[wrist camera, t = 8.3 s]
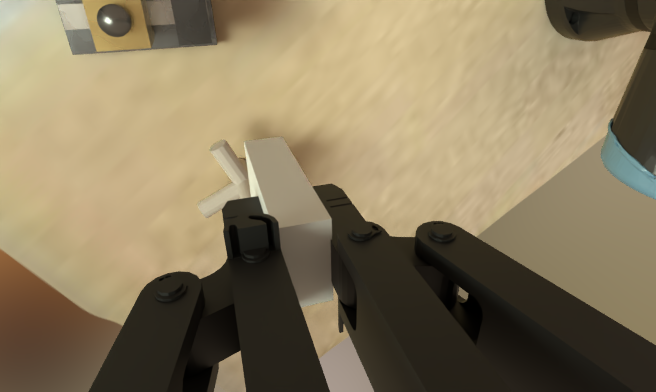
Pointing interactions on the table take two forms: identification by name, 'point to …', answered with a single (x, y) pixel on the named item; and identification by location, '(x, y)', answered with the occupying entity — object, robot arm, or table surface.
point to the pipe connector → (235, 172)
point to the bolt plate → (159, 39)
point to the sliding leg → (119, 24)
